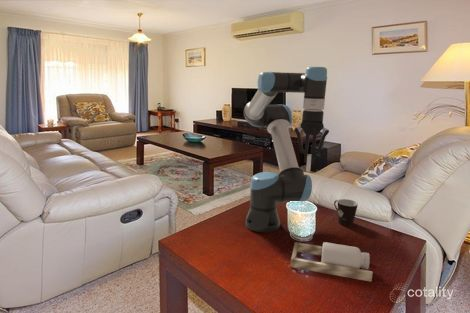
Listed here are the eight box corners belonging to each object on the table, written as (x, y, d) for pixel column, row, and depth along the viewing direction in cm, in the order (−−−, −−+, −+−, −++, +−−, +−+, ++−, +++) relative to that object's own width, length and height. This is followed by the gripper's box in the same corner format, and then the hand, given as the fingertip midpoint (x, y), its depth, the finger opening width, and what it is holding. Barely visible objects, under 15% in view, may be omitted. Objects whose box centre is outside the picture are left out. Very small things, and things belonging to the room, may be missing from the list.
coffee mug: (358, 227, 137) (360, 206, 135) (338, 227, 137) (341, 205, 135) (349, 216, 149) (351, 197, 147) (331, 216, 149) (333, 196, 147)
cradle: (290, 267, 106) (291, 259, 105) (294, 249, 118) (295, 242, 117) (371, 281, 99) (372, 273, 98) (367, 261, 111) (368, 253, 110)
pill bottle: (321, 264, 103) (370, 272, 98) (323, 239, 106) (370, 246, 102) (320, 267, 110) (366, 274, 105) (322, 244, 113) (367, 250, 109)
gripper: (294, 110, 113) (290, 172, 119) (331, 111, 110) (325, 175, 116) (296, 108, 121) (292, 167, 126) (331, 110, 117) (325, 170, 123)
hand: (308, 171), depth 121 cm, fingers closed
